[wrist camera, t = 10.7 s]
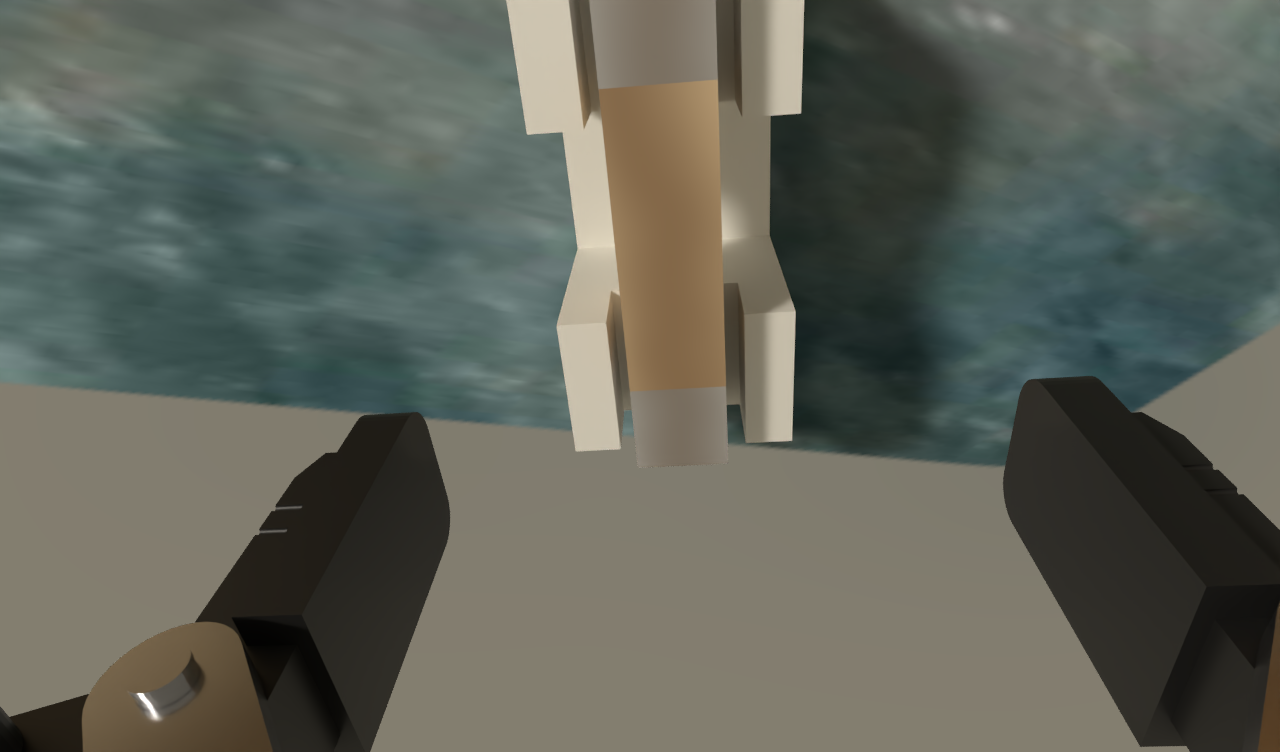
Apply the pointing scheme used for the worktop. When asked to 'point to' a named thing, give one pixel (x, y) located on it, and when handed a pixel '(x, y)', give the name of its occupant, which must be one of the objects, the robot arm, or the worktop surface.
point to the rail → (666, 219)
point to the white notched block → (752, 277)
